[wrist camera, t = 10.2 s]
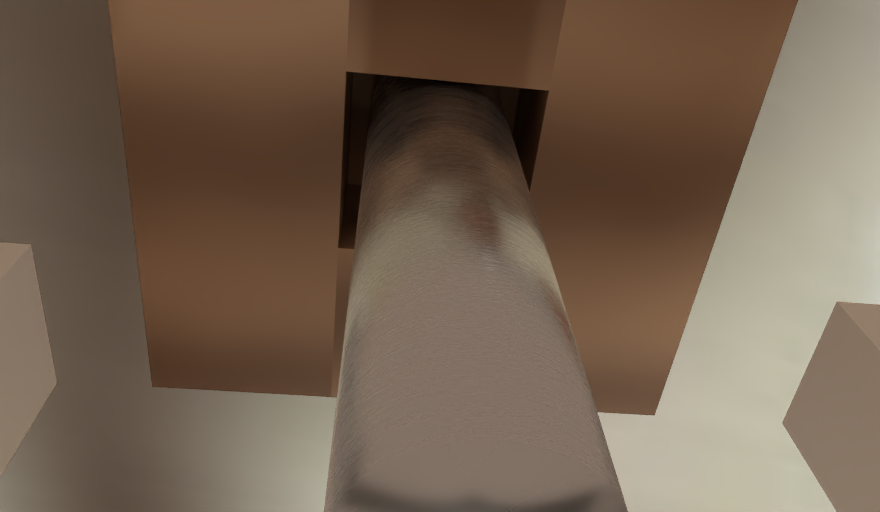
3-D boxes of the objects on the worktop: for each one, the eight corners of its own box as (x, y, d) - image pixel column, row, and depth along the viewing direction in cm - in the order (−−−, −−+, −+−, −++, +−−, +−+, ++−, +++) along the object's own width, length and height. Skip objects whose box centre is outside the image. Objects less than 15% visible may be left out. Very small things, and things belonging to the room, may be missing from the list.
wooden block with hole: (614, 312, 26) (654, 415, 22) (196, 283, 25) (152, 386, 20) (743, -147, 19) (842, -128, 14) (161, -221, 17) (81, -224, 13)
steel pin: (488, 167, 21) (593, 649, 9) (367, 156, 21) (315, 640, 9) (508, 47, 19) (669, 450, 8) (376, 33, 19) (326, 431, 7)
